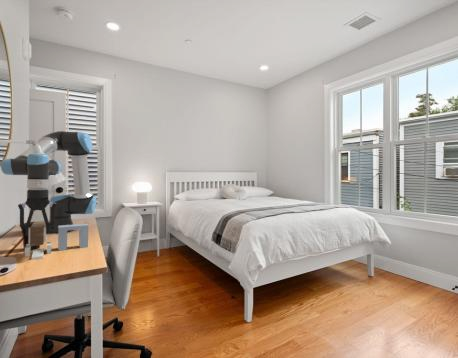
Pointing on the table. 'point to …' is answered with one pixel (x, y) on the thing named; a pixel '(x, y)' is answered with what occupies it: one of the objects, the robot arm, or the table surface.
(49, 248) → the cradle
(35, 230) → the walnut bar
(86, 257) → the table surface
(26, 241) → the coffee cup
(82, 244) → the bore block
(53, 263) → the table surface
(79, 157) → the robot arm
